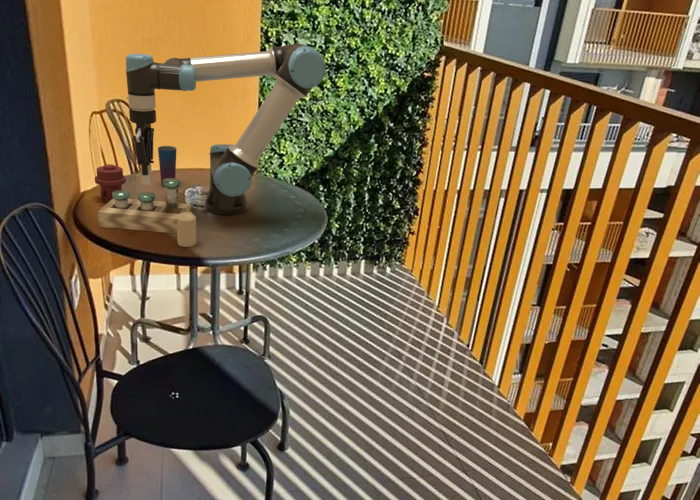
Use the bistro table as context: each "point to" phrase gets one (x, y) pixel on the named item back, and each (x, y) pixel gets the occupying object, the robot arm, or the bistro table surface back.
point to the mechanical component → (109, 180)
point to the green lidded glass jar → (146, 201)
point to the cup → (167, 162)
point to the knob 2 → (171, 192)
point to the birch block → (142, 216)
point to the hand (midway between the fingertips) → (147, 183)
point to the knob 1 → (121, 198)
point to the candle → (186, 229)
